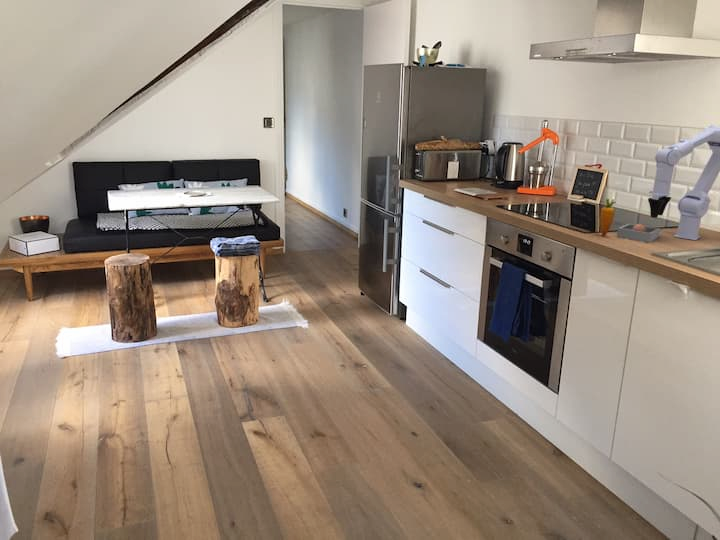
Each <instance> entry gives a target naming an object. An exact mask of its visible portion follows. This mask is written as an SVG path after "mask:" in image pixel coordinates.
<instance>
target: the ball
mask: <svg viewBox="0 0 720 540" xmlns="http://www.w3.org/2000/svg"><path fill="white" fill-rule="evenodd" d="M632 230H635V231H641V232H646V228H645V225H644V224H642V223H637V224H635V226H634V227H633V228H632Z"/></svg>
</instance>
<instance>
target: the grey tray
mask: <svg viewBox="0 0 720 540" xmlns="http://www.w3.org/2000/svg"><path fill="white" fill-rule="evenodd" d="M635 225H636V224H634V223H627V224H624V225H622V226H619V227H617V232H616V238H621V239H627V240H632V241H638V242H643V243H649V244H650V243H652V242H653V241H655V240H656V239H658V238H659V237H660V234H661V232H660V231H661V228H658V227H652V226H647V225H646V226H645V225H644V226H645V228H646V232H641V231H635V230H632V228H633V227H634V226H635Z"/></svg>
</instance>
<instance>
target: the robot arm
mask: <svg viewBox="0 0 720 540" xmlns="http://www.w3.org/2000/svg"><path fill="white" fill-rule="evenodd" d="M703 129H704V130H703V131H701V132H699V133H698V134H697V135H694V136H693V137H692V138H690V139H682V138H681V139H679V141H678V142H676V143H675V144H672V145H669V147H667V148H661V149H659V150H658V151H657V152H656V154H655V156H654V158H655V159H654V160H655V162H656V163H655V167H656V172H655V176H654V182H653V183H654V184H653V187H652V188H653V189H652V190H649V191H648V193H649V194H652V197H648V198H647V201H648V204H649V209H650V210H649V211H650V218H655V219H657V218H658V216H663V215H664V212H665V210H666V207H667V205H668V203H670V201H671V199H672V197H671V196H670V191H671V187H672V186H671V185H672V179H673V174H674V170H675V165H677V164H678V163H679V162H680V160H681V159H682V158H684V157H686V156H689V154H692V153H693V151H694V148H697V147H699V146H702V145H704V144H707V146H708V147H709V149H711V151H712V154H711V156H710V158H709V159H708V161H707V163H706V165H705V166H704V169H703V171H702V172H701V174H700V176H699V177H698V180H697V182H696V183H695V185H694V187H693V188H692V189H691V190H689V191H687V192H685V194H684V195H683V196H682V197H681V198H680V199H679V201H678V203H677V209H678V212H679V214H680V217H679V222H678V227H677V232H676V234H674V235H673V237H675V238H680V239H686V240H692V241H696V240H698V239H699V238H701V235H699V230H700V226H701V222H702V218H703V217H704V216H705V215H706V214H707V213H708V211H709V207H710V203H711V201H712V199H711V198H710V197H709V193H710V191H711V190H712V187H713V186H714V183H715V182H716V180H717V178H718V176H719V174H720V125H719V126H716V125H709V126H707V127H705V128H703Z"/></svg>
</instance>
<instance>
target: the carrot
mask: <svg viewBox="0 0 720 540" xmlns="http://www.w3.org/2000/svg"><path fill="white" fill-rule="evenodd" d="M605 201H606V203H605V204H606V206H603V207H602V208H601V211H600V220H599V224H600V226H599V227H600V232H601V235H602V237H605V236H606V235H607V234H608V233H609V231H610V229H611V226H612V223H613V220H614V216H615V209H614V208H613V207H612V206H613V205H614V204H616V203H617V202H616V201H615V199H614V198H613V199H612V200H611V201H610V198H609V197H607V198H606V200H605Z"/></svg>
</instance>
